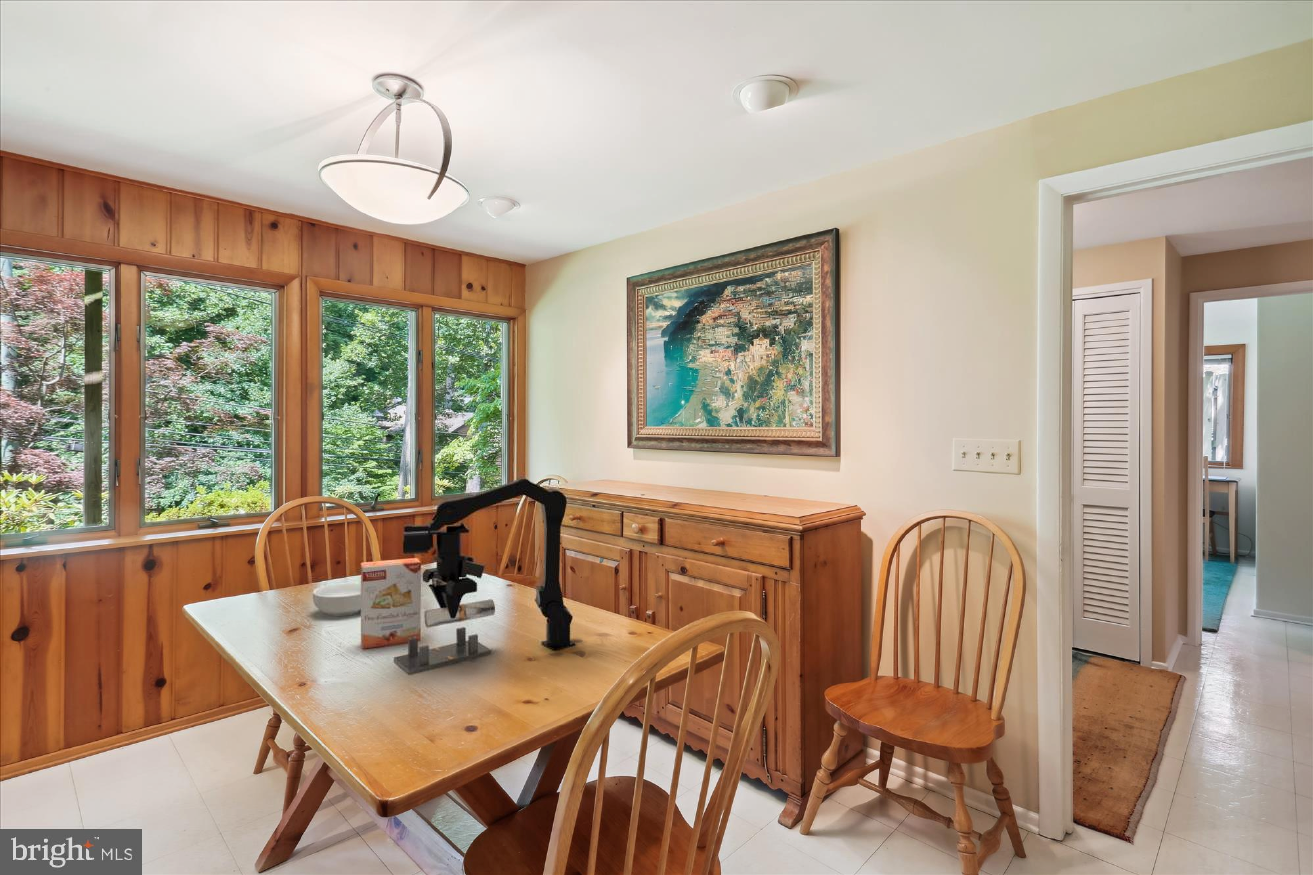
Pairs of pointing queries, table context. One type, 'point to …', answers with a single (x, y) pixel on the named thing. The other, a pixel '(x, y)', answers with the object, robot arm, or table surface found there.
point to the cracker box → (390, 602)
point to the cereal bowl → (338, 598)
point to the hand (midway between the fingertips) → (449, 615)
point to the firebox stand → (441, 653)
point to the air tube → (459, 613)
